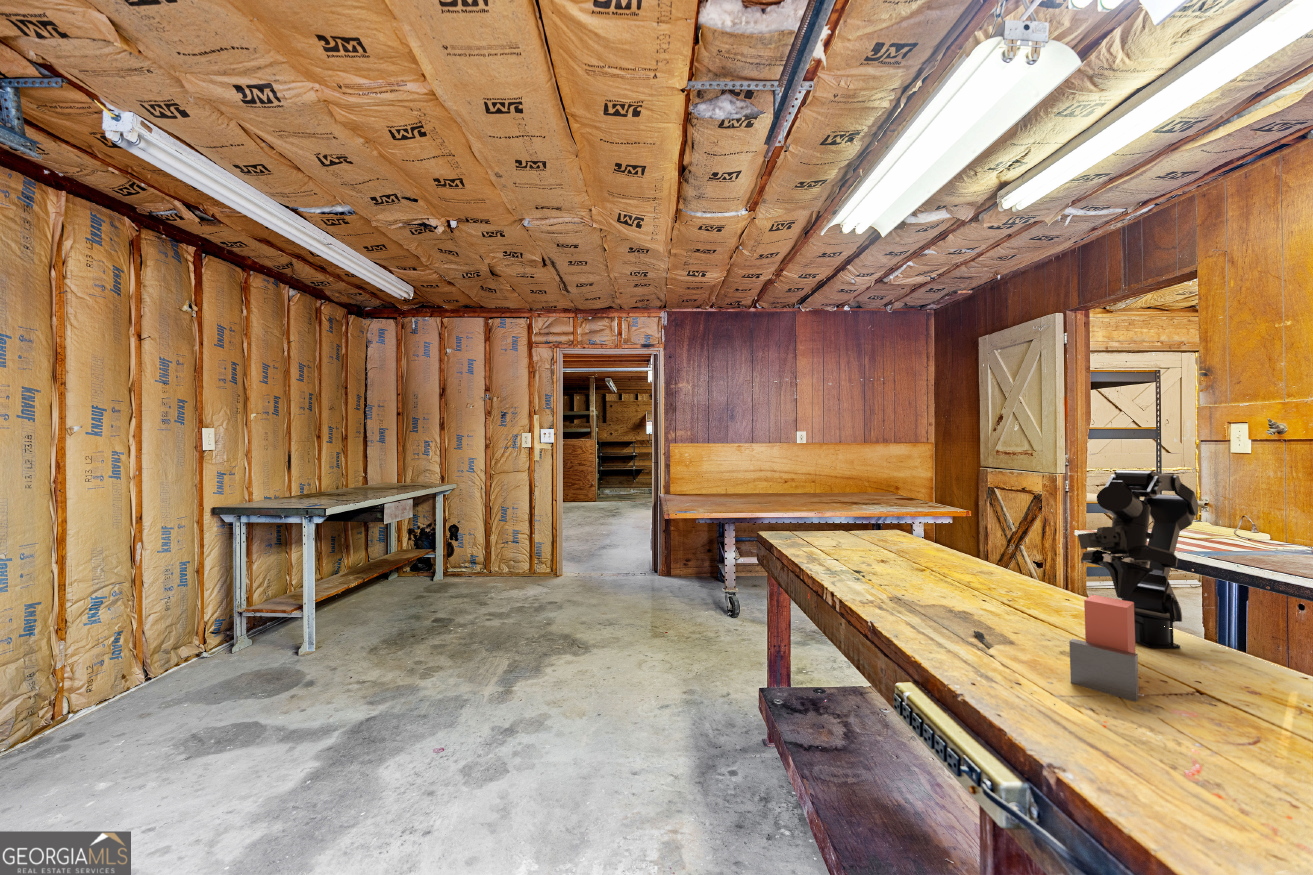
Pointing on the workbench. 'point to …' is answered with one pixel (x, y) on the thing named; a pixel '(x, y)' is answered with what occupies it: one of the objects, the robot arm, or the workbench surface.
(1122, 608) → the red block on plate
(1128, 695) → the plate
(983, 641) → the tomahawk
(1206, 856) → the workbench surface
